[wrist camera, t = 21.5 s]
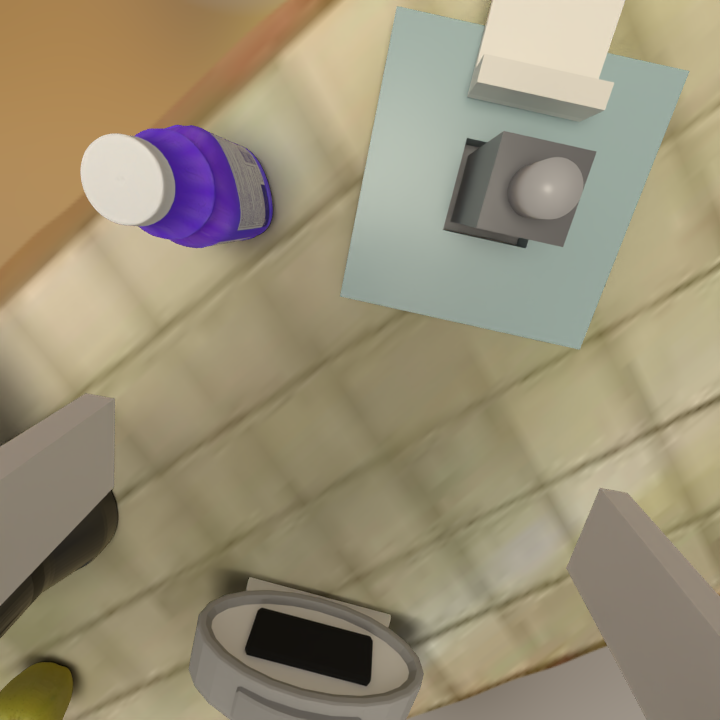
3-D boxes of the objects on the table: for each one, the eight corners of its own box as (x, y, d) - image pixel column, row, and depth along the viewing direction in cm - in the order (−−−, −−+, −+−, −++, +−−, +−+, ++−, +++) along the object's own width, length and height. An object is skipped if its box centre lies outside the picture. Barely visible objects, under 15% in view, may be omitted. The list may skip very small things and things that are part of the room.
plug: (450, 221, 36) (486, 230, 22) (467, 155, 35) (519, 120, 21) (510, 234, 36) (584, 252, 22) (530, 169, 35) (624, 144, 21)
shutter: (466, 97, 31) (477, 81, 27) (502, -44, 28) (519, -82, 25) (579, 121, 31) (604, 110, 27) (625, -17, 28) (660, -51, 25)
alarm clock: (420, 616, 51) (429, 743, 39) (404, 653, 53) (408, 785, 41) (222, 563, 50) (169, 675, 38) (214, 603, 52) (161, 721, 40)
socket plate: (343, 289, 39) (340, 296, 36) (396, 23, 33) (397, 6, 30) (566, 339, 39) (579, 349, 36) (663, 82, 33) (689, 71, 30)
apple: (52, 714, 59) (-26, 788, 50) (30, 658, 60) (-53, 721, 50) (99, 699, 58) (27, 772, 48) (75, 641, 58) (-1, 702, 48)
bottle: (194, 156, 37) (32, 115, 20) (259, 137, 36) (146, 79, 19) (223, 245, 39) (98, 274, 22) (285, 229, 38) (203, 247, 22)
